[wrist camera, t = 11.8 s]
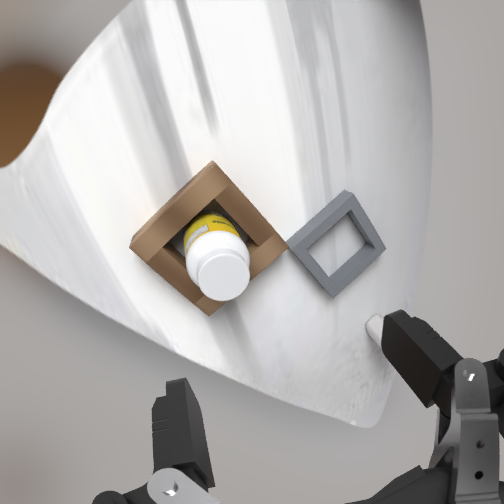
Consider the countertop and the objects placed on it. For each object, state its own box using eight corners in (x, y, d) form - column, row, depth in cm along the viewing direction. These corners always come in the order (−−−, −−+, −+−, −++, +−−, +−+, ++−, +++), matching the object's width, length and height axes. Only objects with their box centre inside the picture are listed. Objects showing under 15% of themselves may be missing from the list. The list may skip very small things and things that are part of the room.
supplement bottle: (245, 235, 33) (273, 278, 25) (207, 269, 34) (221, 321, 25) (211, 198, 31) (227, 231, 22) (171, 235, 31) (172, 280, 23)
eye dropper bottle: (364, 344, 45) (406, 396, 34) (364, 317, 43) (412, 370, 32) (387, 334, 46) (431, 381, 35) (389, 306, 43) (438, 354, 32)
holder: (344, 189, 34) (353, 193, 32) (377, 243, 38) (386, 248, 36) (285, 242, 35) (291, 249, 33) (325, 290, 39) (332, 298, 37)
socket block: (212, 160, 29) (216, 164, 27) (279, 236, 34) (289, 246, 32) (132, 236, 30) (129, 247, 28) (205, 301, 35) (208, 316, 32)
